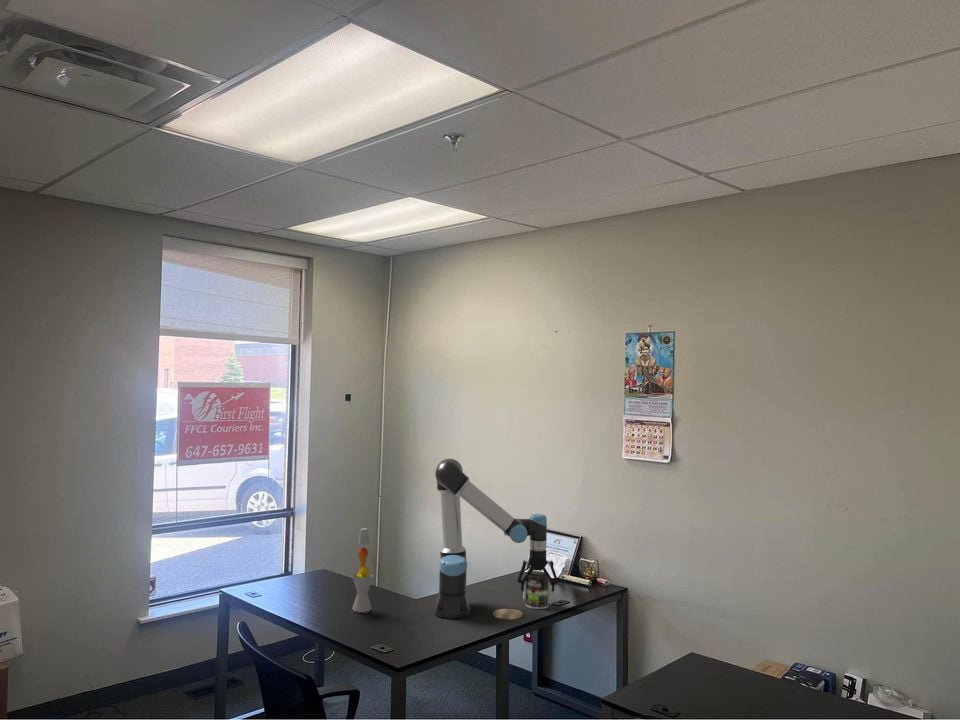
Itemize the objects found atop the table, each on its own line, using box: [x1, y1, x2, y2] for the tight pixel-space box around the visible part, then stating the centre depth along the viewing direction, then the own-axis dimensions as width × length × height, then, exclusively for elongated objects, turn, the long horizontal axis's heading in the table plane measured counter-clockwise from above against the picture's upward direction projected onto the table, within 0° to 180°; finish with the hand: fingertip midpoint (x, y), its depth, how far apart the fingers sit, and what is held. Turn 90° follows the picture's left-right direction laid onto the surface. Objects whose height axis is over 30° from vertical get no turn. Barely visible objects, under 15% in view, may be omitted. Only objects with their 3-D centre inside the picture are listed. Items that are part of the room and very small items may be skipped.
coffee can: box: [525, 570, 550, 610], centre depth 314 cm, size 10×10×14 cm
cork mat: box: [492, 608, 524, 621], centre depth 299 cm, size 13×13×1 cm
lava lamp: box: [351, 527, 374, 612], centre depth 302 cm, size 9×9×35 cm
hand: (537, 598), depth 314 cm, fingers open, 11 cm apart
